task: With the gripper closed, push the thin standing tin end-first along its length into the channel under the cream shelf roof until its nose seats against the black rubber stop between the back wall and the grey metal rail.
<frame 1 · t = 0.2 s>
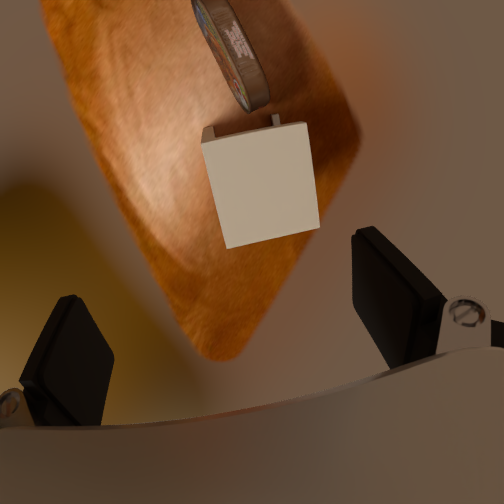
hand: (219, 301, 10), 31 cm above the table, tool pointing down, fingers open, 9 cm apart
shelf: (249, 158, 39), on the table
tin: (227, 54, 32), on the table
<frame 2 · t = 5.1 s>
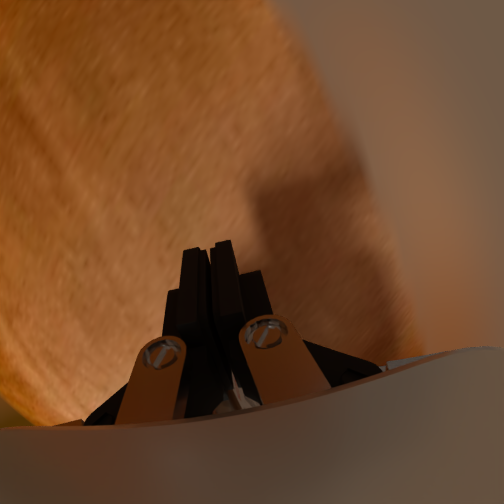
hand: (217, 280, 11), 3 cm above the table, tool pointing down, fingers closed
tin: (252, 374, 18), on the table, touching gripper
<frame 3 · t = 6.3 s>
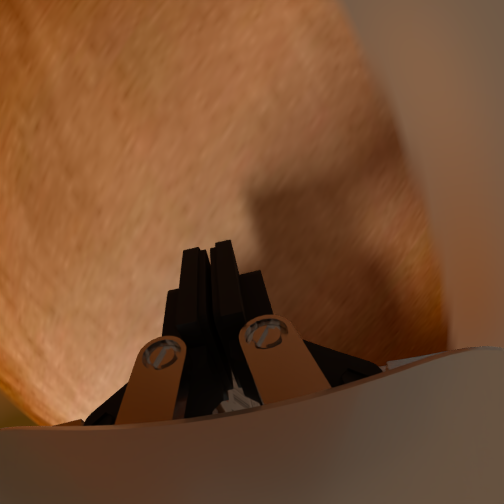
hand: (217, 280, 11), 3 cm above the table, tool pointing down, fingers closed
tin: (257, 372, 18), on the table
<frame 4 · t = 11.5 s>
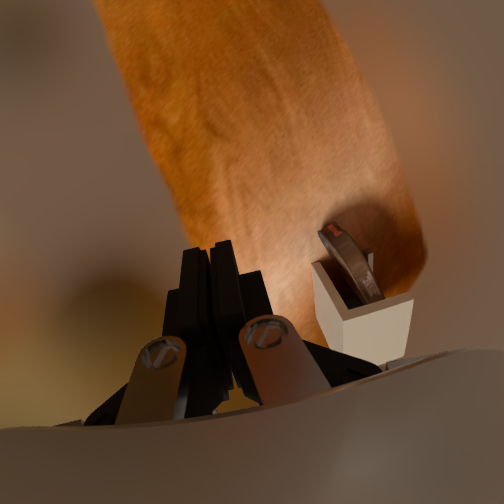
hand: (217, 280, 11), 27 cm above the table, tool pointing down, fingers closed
shelf: (343, 284, 47), on the table
tin: (342, 255, 44), on the table
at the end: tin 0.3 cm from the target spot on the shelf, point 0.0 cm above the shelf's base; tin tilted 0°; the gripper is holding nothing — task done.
